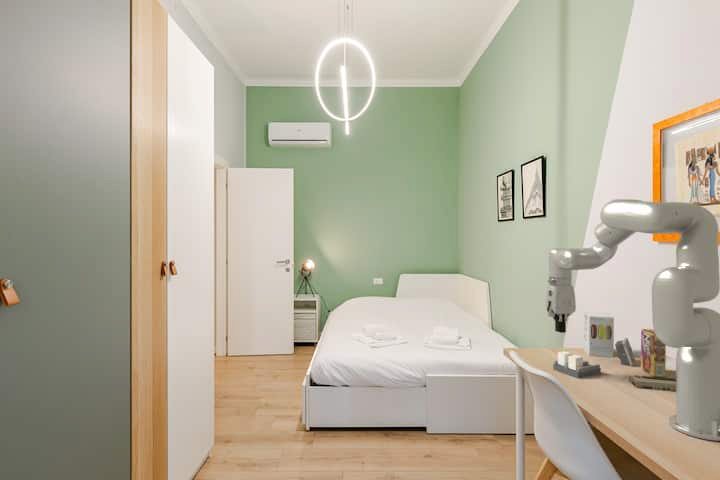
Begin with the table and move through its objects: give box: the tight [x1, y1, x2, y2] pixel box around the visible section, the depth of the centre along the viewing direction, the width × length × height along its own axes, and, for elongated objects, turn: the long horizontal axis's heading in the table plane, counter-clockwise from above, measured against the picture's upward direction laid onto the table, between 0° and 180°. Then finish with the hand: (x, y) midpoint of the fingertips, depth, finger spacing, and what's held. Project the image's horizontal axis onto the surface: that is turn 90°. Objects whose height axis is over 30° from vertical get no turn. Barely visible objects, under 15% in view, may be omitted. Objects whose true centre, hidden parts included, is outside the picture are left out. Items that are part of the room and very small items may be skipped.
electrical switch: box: [614, 337, 636, 367], centre depth 161 cm, size 9×5×9 cm, turn 141°
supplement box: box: [583, 312, 615, 358], centre depth 173 cm, size 10×9×17 cm
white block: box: [568, 354, 584, 370], centre depth 147 cm, size 3×4×4 cm
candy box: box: [640, 328, 667, 378], centre depth 149 cm, size 9×4×15 cm, turn 171°
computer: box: [628, 374, 676, 392], centre depth 136 cm, size 16×8×3 cm, turn 72°
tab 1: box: [557, 350, 572, 366], centre depth 152 cm, size 3×4×4 cm
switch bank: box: [552, 359, 602, 379], centre depth 151 cm, size 10×12×3 cm
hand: (560, 331), depth 149 cm, fingers closed
